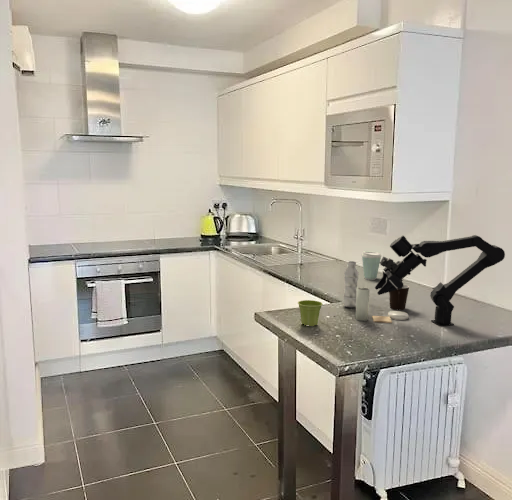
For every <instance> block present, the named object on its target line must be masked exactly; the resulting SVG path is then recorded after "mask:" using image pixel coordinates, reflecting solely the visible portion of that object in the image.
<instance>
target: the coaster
mask: <svg viewBox="0 0 512 500" xmlns="http://www.w3.org/2000/svg"><path fill="white" fill-rule="evenodd" d="M371 318H372V321H373V323H387V324H392V323H393V320H392V319H391V318H390V317H388V315H385V316H384V315H383V316H381V315H371Z"/></svg>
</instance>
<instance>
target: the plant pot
mask: <svg viewBox="0 0 512 500" xmlns="http://www.w3.org/2000/svg"><path fill="white" fill-rule="evenodd" d="M297 304H298V307H299V312H300V322H301V323H302V324H304V325H303V326H305V325H309V326H314V325H317V326H318V323H319V317H320V311H321V309H322V306H323V302H321V301H318V300H311V299H304V300H300V301H298V302H297ZM302 324H301V325H302ZM314 327H315V326H314Z"/></svg>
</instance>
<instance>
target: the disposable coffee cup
mask: <svg viewBox="0 0 512 500" xmlns="http://www.w3.org/2000/svg"><path fill="white" fill-rule="evenodd" d="M381 257H382V255H381V253H380V252H376V251H368V250H366V251H365V250H364V251H362V254H361V261H362V271H363V277H364V279H365V280H367V281H368V280H369V281H375V280H376V279H377V277H378V274H379V273H378V272H379V268H380V262H381V260H382V258H381Z"/></svg>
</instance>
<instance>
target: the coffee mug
mask: <svg viewBox="0 0 512 500" xmlns="http://www.w3.org/2000/svg"><path fill="white" fill-rule="evenodd" d="M397 289H398V288H397ZM409 289H410V286H409V285H408V284H404V283H403V287H402V288H401V289H400V290H399V289H398V290H395V291H391V292H388V297H389V298H388V299H389V308H390V309H391V310H392V311H405V310H406V305H407V300H408V296H409Z"/></svg>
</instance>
